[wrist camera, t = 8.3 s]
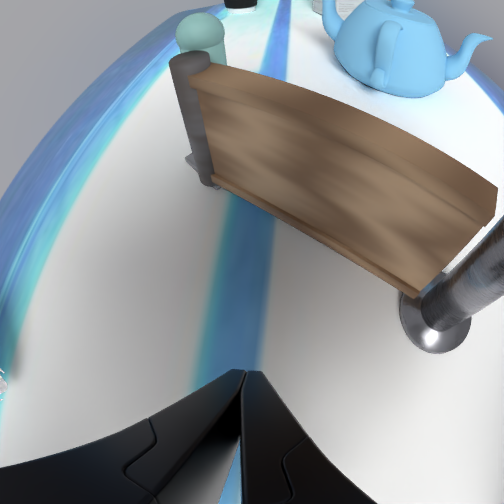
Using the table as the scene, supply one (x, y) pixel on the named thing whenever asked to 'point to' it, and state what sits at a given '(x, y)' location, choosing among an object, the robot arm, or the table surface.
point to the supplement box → (339, 7)
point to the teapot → (395, 47)
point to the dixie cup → (240, 6)
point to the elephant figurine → (2, 385)
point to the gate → (331, 171)
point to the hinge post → (456, 296)
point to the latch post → (202, 44)
